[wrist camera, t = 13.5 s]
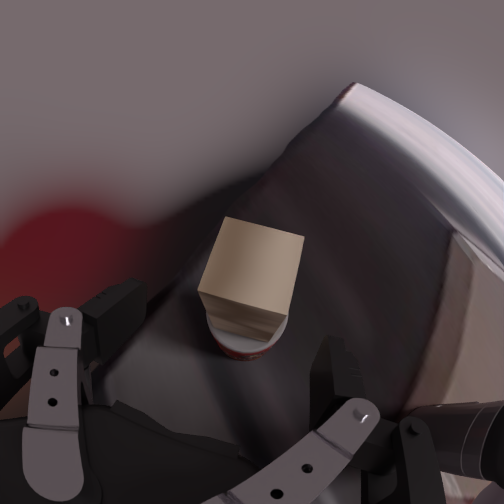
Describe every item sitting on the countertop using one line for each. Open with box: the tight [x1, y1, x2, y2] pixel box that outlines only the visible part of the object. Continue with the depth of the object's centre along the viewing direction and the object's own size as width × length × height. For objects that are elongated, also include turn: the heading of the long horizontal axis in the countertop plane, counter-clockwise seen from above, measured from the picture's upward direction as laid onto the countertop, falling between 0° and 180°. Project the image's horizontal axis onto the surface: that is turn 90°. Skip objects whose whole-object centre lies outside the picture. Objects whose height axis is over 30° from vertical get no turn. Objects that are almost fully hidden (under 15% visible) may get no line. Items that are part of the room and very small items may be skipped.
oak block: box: [198, 217, 304, 342], centre depth 20 cm, size 5×5×10 cm
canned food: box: [206, 311, 288, 361], centre depth 29 cm, size 8×8×11 cm
